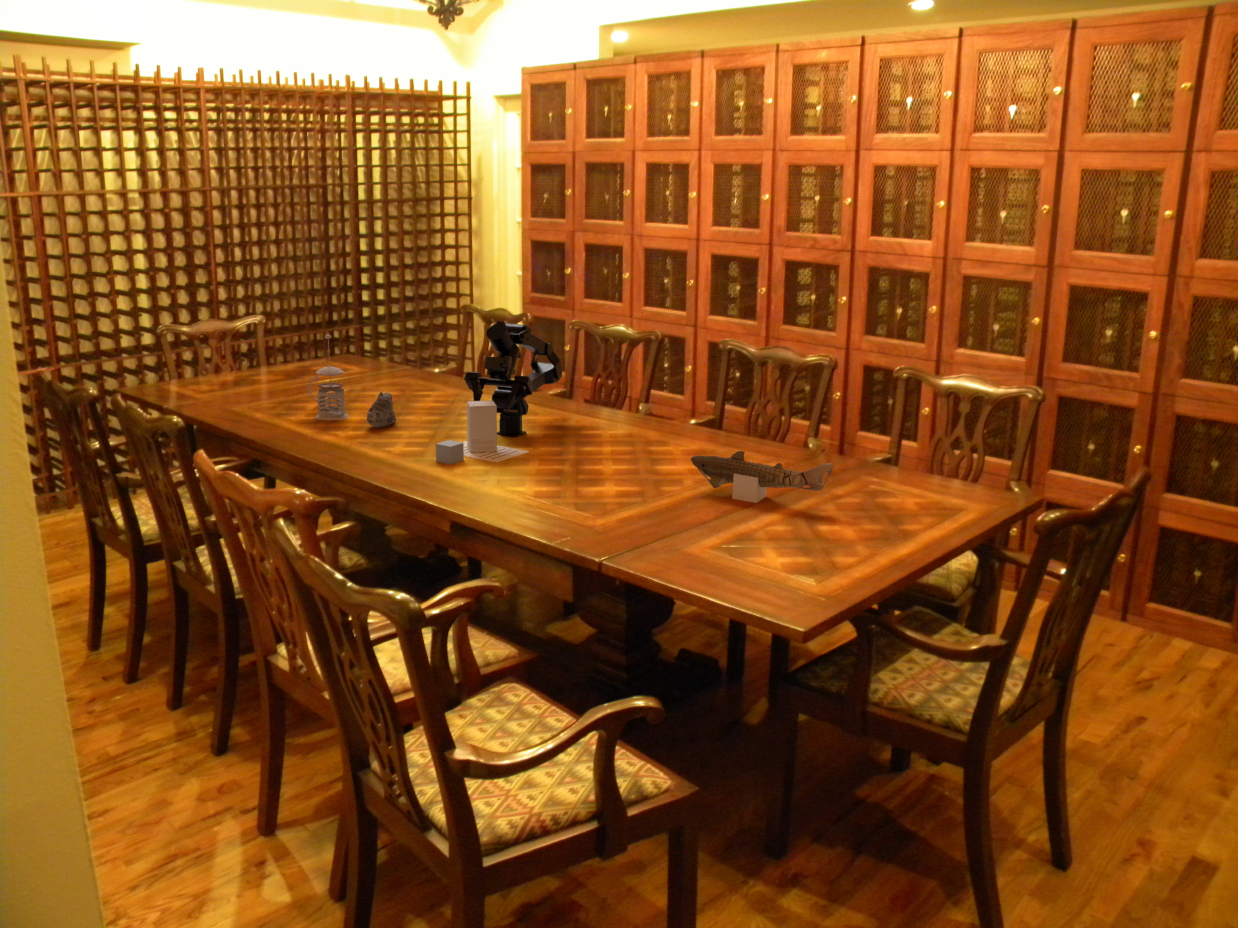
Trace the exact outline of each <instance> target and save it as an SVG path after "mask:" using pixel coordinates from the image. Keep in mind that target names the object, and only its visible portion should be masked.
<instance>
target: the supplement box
mask: <svg viewBox="0 0 1238 928" xmlns="http://www.w3.org/2000/svg"><path fill="white" fill-rule="evenodd" d="M497 419H498V413H497V406H496V404H495V403H494V401H492V400H480V401H474V400H472V401H471V400H469V401H466V430H467V433H466V434H467V438H466V439H467V440H466V441H467V446H468V448H469V450H470V452H496V451H497V445H498V434H497V432H498V427H497V426H498V420H497Z"/></svg>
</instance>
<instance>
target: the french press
mask: <svg viewBox="0 0 1238 928" xmlns="http://www.w3.org/2000/svg"><path fill="white" fill-rule="evenodd" d="M324 339H327V349H328V352H330V342H329V340H331V339H332V335H331V334H325V335H324ZM330 357H331V356H330V355H328V366H324V367H322V368H320V369H318V370H317V371H315V374H316V375H315V376H313V377H312V378H310V379H309V381H308V383H307V393H308V395H309V396H310V398H311V399H313V400H314V401H315V402H317V411H318V412H317V413H318V414H316V415H315V419H316V420H320V421H339V420H340V421H341V420H346V419H347V418H349V414H348V413H346V403H345V402H346V401H345V399H346V398H345V389H343V388H342V387H343V386H344V384H343V383H339V382H332V381H331V380H332V379H331V378H332V377H333V376H340V375H341V376H342V375H343V374H344V372H345V371H344V370H343V369H341V368H339V367H336V366H331V363H330V362H331V360H330ZM319 376H328V377H329V382H327V383H325V382H324V383H320V384H318V385H317V386H318V388H319V389H318V391H317V397H315V396H314V395H313V392H312V389H311V383H312V381H313V380H314V379H316V382H319V380H320V378H319Z"/></svg>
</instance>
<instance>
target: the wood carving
mask: <svg viewBox="0 0 1238 928" xmlns="http://www.w3.org/2000/svg"><path fill="white" fill-rule="evenodd" d="M745 453H746V452H745V451H743V450H737V451H736V452H734V453H732V455H730V457H724V456H717V455H693V456H691V457H690V461H691V463H692V465H693V466H695V468H696V469H697V470H698V471H699V472H700V474H702V476H703V477H704V479H706V481H708V482H709V484H710V485H711V486H712V488H713V489H717V488H722V487H723V486H724V485H727V484H732V497H731V498H732V500H738V501H742V502H744V501H745V502H748V503H758V502H760V501H762V500H763V499H765V498H766V497H767V488H774V489H776V488H777V489H780V488H783V489H784V488H785V489H786V488H796V489H801V490H810V491H814V492H815V491H816V492H817V491H819V492H820V491H822V490H823V489H824V486H825V485H826V484H827V481H828V480H829V478H830V476H831V474H832V472H833V469H834V464H833V463H832V462H828V463H827V462H826V463H824V464H820V465H818V466H815V467H812V468H809V469H808V470H806V471H805V470H804V471H800V470H793V469H789V468H788V469H787V468H783V464H782V463H781V462H780V463H779V462H778V463H776V464H775V465H769V464H762V463H759V462H758V463H757V462H751V461H747V460H746V461H745V457H744V456H745ZM826 473H827V478H826V479H825V481H824V482H823V477H824V476H825V474H826ZM709 478H710V479H709ZM804 486H807V487H804Z"/></svg>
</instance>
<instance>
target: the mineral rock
mask: <svg viewBox="0 0 1238 928" xmlns="http://www.w3.org/2000/svg"><path fill="white" fill-rule="evenodd" d="M393 405H394V403H393V395H392V393H390V392H382V391H380V392H379V393H378V394H377V398H376V399H375V401H374V402H373V403H372V404H371V407H369V408H368V410H367V416H366V422H367V423H368V424H369V426H371V427H373V428H383V427H387V426H389V425H391V424H393V423H396V421H397V418H396V414H395V411H394V408H393V407H394V406H393Z"/></svg>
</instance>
